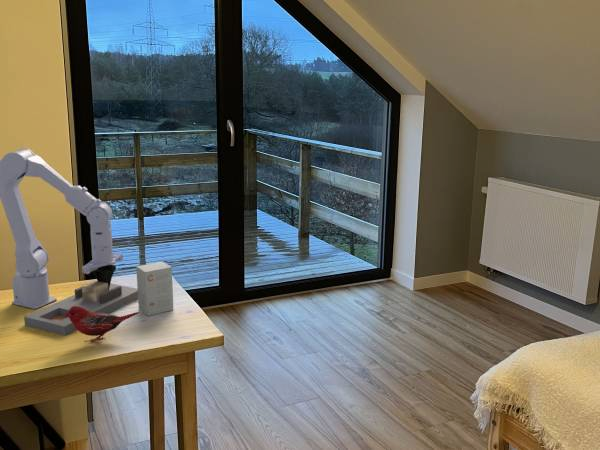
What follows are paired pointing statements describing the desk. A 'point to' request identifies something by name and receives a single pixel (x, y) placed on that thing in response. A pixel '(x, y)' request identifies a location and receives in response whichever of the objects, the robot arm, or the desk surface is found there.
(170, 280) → the small box
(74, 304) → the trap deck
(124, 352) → the desk surface
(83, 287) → the maple block
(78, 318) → the decorative bird figurine
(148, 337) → the desk surface
